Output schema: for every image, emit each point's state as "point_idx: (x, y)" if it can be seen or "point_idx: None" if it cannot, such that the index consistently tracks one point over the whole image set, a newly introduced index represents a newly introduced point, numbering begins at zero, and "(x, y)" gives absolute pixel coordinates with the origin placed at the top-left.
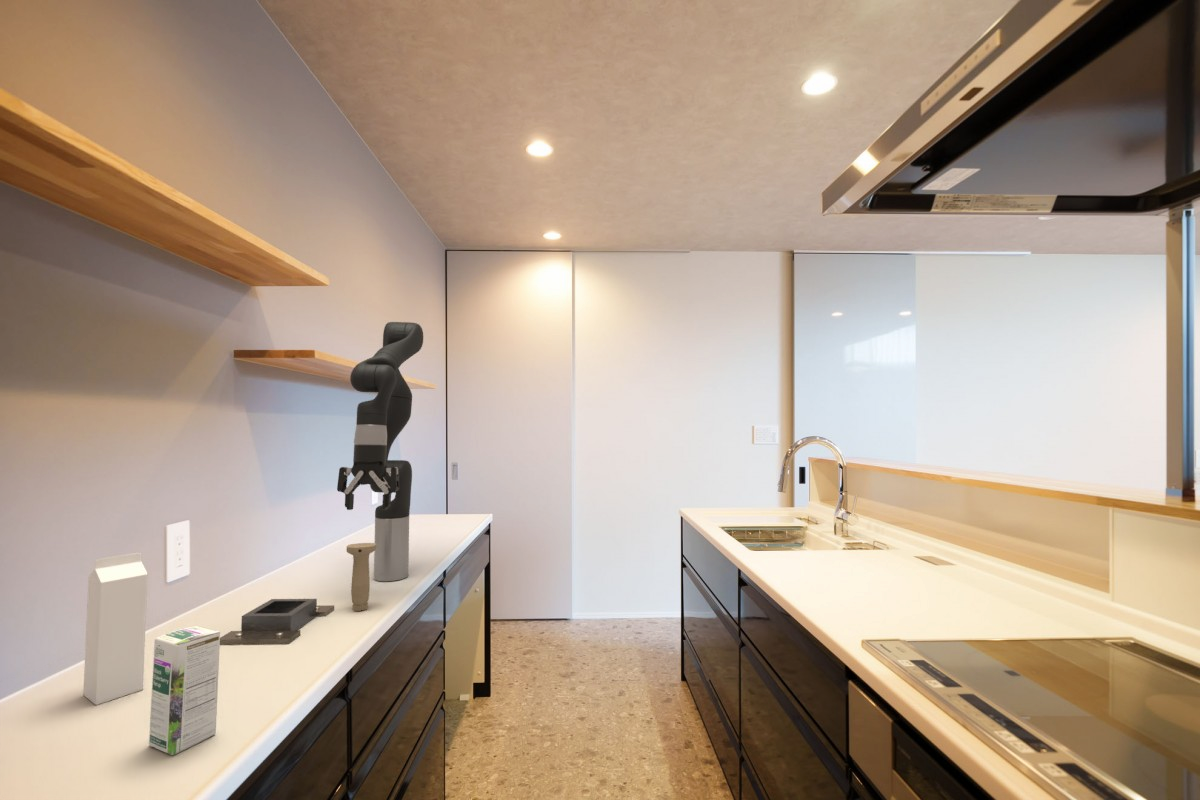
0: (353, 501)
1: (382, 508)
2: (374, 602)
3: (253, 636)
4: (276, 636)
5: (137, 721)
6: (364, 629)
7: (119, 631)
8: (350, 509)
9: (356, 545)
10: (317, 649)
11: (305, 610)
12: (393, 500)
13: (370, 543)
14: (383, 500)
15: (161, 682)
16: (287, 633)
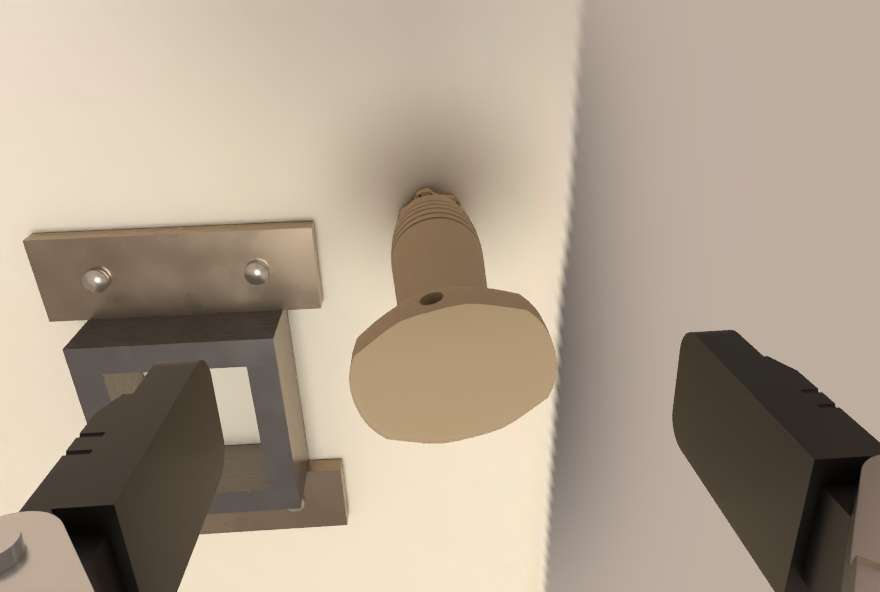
0: (167, 416)
1: (679, 440)
2: (457, 111)
3: (219, 514)
4: (294, 512)
5: None
6: (535, 407)
7: None
8: (221, 438)
9: (418, 384)
10: (454, 536)
11: (289, 410)
12: None
13: (498, 319)
14: (743, 523)
15: None
16: (313, 492)
